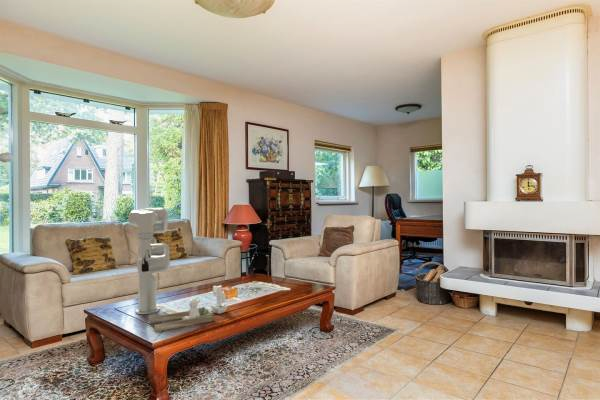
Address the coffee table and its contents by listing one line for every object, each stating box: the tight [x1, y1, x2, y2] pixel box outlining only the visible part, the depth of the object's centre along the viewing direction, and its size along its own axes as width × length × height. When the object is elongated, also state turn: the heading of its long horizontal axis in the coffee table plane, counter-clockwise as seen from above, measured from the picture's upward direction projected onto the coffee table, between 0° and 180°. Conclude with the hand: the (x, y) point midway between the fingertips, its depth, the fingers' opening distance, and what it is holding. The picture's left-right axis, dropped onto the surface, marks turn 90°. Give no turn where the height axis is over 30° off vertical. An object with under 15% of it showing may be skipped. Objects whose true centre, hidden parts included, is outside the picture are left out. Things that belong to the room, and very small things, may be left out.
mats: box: [149, 321, 164, 331], centre depth 187 cm, size 11×6×1 cm, turn 33°
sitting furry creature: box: [181, 298, 201, 320], centre depth 195 cm, size 10×9×12 cm
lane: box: [148, 306, 214, 333], centre depth 193 cm, size 14×30×4 cm, turn 123°
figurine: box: [209, 284, 228, 314], centre depth 210 cm, size 7×9×15 cm
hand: (145, 271), depth 191 cm, fingers closed
